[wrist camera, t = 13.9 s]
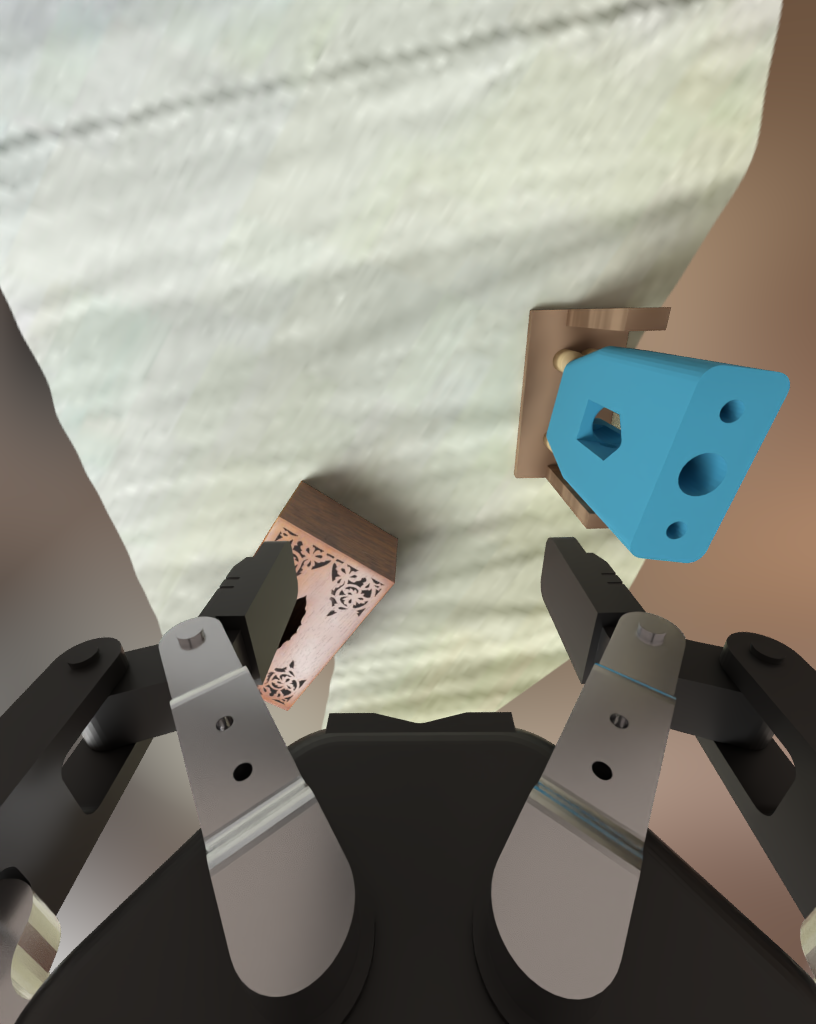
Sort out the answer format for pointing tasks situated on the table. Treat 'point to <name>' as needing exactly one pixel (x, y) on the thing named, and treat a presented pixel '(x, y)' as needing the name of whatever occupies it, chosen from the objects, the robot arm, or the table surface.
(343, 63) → the table surface
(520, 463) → the peg stand
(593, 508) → the block
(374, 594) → the tissue box cover
